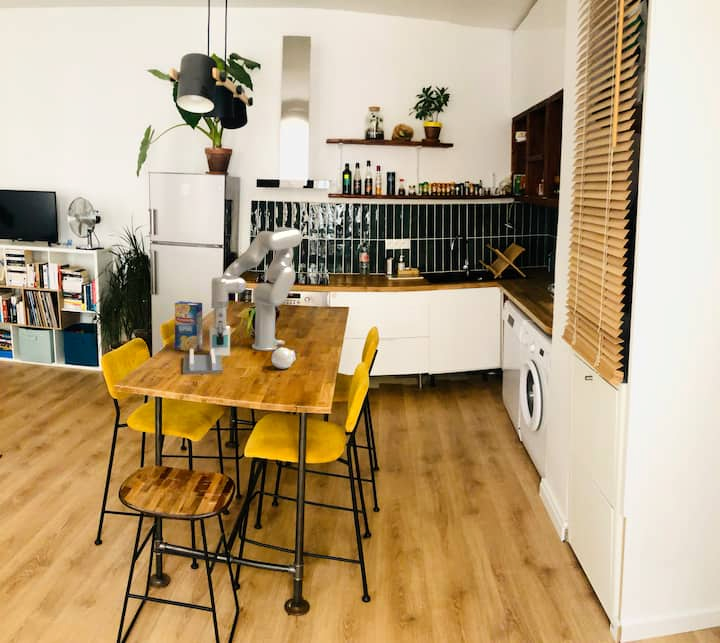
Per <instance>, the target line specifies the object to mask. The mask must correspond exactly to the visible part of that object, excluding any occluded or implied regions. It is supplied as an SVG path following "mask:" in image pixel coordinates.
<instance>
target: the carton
mask: <svg viewBox="0 0 720 643" xmlns="http://www.w3.org/2000/svg"><path fill="white" fill-rule="evenodd" d="M218 330H219V328H218ZM216 336H217V330H216V328H215V325H209V355H211V349H214V352H215V355H220V356H225V357H226V356H227V357H228V356H229V357H230V356H231V326H230V325H226V330H225V329H223V336H224V344H223V345H217V344H216Z"/></svg>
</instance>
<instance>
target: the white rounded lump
mask: <svg viewBox="0 0 720 643" xmlns="http://www.w3.org/2000/svg"><path fill="white" fill-rule="evenodd" d="M296 360H298V355H297V352H296V350H295V349H289V348H287V347H281V346H280V347H278V348H277V349H275V350H273V352H272V354H271V362H272V364H273V366H274V367H275V368H277V369H279V370H286V369H288V368H289V367H291V366H292V364H293V362H295V361H296Z"/></svg>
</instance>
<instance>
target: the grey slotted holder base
mask: <svg viewBox="0 0 720 643" xmlns="http://www.w3.org/2000/svg"><path fill="white" fill-rule="evenodd" d="M194 353H195V351H194V349H190V351H189V354H188V355H183V365H182V366H183V368H182V372H183V375H208V374H209V375H210V374H211V375H213V374H216V373H218V374H219V373H222V374H223V371H224V370H223V364H222V358H221V356H220V355H215V352H214V349H211V355H210V354H199V355H198V354H194Z"/></svg>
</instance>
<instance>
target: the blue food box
mask: <svg viewBox="0 0 720 643" xmlns="http://www.w3.org/2000/svg"><path fill="white" fill-rule="evenodd" d="M176 349H177V350H179V351H188V350H189V352H190V349H194V352H198V351H200V350H202V349H203V302H197V301H196V302H194V301H183V300H180V301H178V302H175V303H174V350H176Z"/></svg>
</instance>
